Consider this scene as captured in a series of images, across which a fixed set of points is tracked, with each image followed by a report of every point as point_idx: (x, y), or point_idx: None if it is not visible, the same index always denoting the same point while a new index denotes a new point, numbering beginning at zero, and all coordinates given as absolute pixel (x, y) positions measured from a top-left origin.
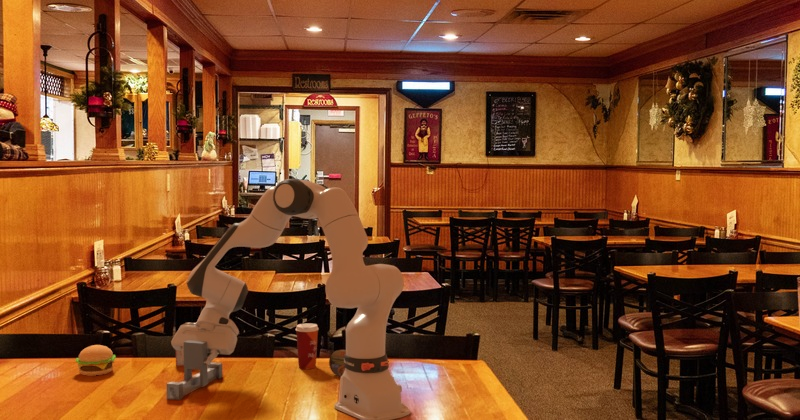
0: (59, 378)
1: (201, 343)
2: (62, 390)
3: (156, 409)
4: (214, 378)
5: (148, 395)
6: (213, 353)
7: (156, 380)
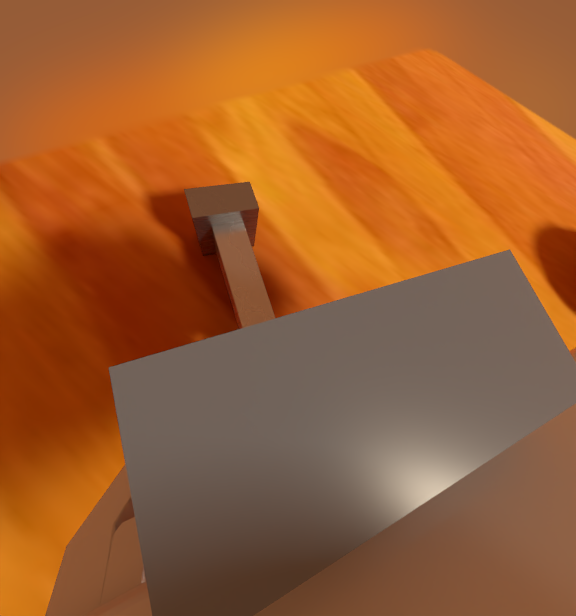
0: None
1: (146, 362)
2: (506, 165)
3: (189, 144)
4: None
5: (327, 224)
6: (84, 528)
7: None
